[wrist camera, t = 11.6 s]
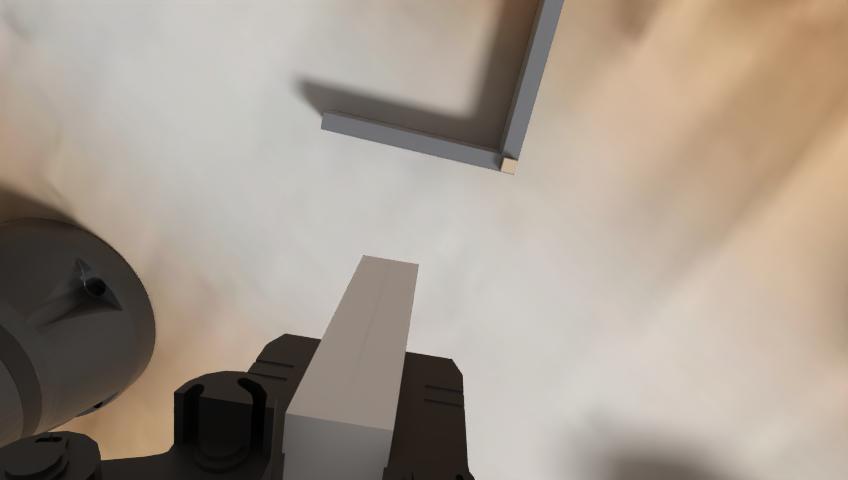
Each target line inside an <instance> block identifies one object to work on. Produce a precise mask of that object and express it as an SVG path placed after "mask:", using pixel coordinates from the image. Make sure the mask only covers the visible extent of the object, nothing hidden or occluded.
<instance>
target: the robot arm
mask: <svg viewBox="0 0 848 480" xmlns="http://www.w3.org/2000/svg"><path fill="white" fill-rule="evenodd" d="M418 266H419V264H413V263H407V262H401V261H395V260H389V259H383V258H377V257H371V256H365V255H363V257H362V259H361V261H360V263H359V265H358V267H357V269H356V271H355V273H354V275H353V277H352V279H351V281H350V283H349V285H348V287H347V289H346V291H345V293H344V295H343V297H342V299H341V302H340V304H339V306H338V308H337V310H336V312H335V314H334V316H333V318H332V320H331V322H330V324H329V326H328V328H327V330H326V332H325V334H324V336H323V338H322V340H321V339H315V338H309V337H303V336H297V335H291V334H284V335H282V336H280V337H278V338H277V339H275V340H273V341H272V342H270V343H268V344H267V345H266V346H265V347H264V349H263V350H262V352H261V353H260V355H259V356H258V357H257V359H256V362H254V363H253V365H252V366H251V367H250V369H249V370H248V372H239V371H222V372H216V373H210V374H205V375H202V376H200V377H197V378H195V379H193V380H190V381H188V382H186V383H185V384H184V385H183V386H181V387H180V388H179V389H177V390H176V391H175V392H174V444H173V446H172V447H171V448H170V450H169V451H168V452H165V453H162V454H158V455H152V456H146V457H136V458H124V459H113V460H101V455H100V451H99V448H98V444H97V443H96V442H95V441H94V440H92V439H91V438H90V437H88V436H87V435H85V434H80V433H75V432H70V431H60V432H48V431H50V430H52V429H55V428H57V427H59V426H61V425H63V424H65V423H67V422H68V421H70V420H72V419H73V418H75V417H79V416H83V415H86V414H89V413H91V412H94V411H96V410H98V409H100V408H102V407H104V406H106V405H107V404H109V403H110V402H112V401H113V400H115V399H116V398H117V397H118V396H120V395H121V394H122V393H123V392H124V391H125V390H126V389H127V388H128V387H129V386H130V385H132V384H133V383H134V382H135V381H136V380H137V379H138V378H139V377H140V375H141V374H142V373H143V372H144V370H145V369H146V367H147V365H148V363H149V361H150V359H151V356H152V353H153V350H154V345H155V332H156V330H155V320H154V314H153V310H152V307H151V303H150V301H149V298H148V296H147V294H146V291H145V289H144V288H143V286H142V284H141V282H140V281H139V279H138V278H137V276H136V275H135V273H134V272H133V271H132V269H131V268H130V267H129V266H128V264H127V263H126V262H125V261H124V260H123V259H122V258H121V257H120V256H119V255H118V254H117V253H116V252H115V251H113V250H112V249H111V248H110V247H109V246H107V245H106V244H104V243H103V242H102V241H100V240H99V239H97V238H96V237H94V236H92V235H90V234H89V233H87V232H85V231H83V230H81V229H78V228H76V227H73V226H71V225H68V224H65V223H61V222H57V221H53V220H47V219H36V218H27V219H17V220H12V221H8V222H4V223H1V224H0V480H475V479H474V477H473V476H472V474H471V473H470V472H469V468H468V459H467V442H466V425H465V409H464V395H463V375H462V373H461V372H460V370H459V369H458V367H457V366H456V364H455V363H454V362H453V360H452V359H448V358H442V357H436V356H430V355H424V354H417V353H411V352H405V351H406V345H407V338H408V332H409V325H410V319H411V312H412V305H413V299H414V292H415V286H416V279H417V273H418Z"/></svg>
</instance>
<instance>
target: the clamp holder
mask: <svg viewBox="0 0 848 480" xmlns="http://www.w3.org/2000/svg"><path fill="white" fill-rule="evenodd" d="M563 2H564V0H539V3H538V7H537V10H536V14H535V17H534V21H533V25H532V28H531V32H530V36H529V39H528V43H527V47H526V50H525V54H524V58H523V61H522V65H521V69H520V72H519V76H518V80H517V83H516V87H515V91H514V94H513V98H512V101H511V105H510V109H509V112H508V116H507V120H506V123H505V127H504V131H503V134H502V138H501V142H500V145H499V149H498V150H497V149H493V148H489V147H484V146H480V145H476V144H472V143H468V142H463V141H459V140H455V139H451V138H447V137H442V136H438V135H434V134H430V133H426V132H421V131H417V130H413V129H409V128H405V127H400V126H396V125H392V124H388V123H384V122H379V121H375V120H371V119H367V118H363V117H359V116H354V115H350V114H346V113H342V112H338V111H327V112H323V118H322V125H321V129H323V130H328V131H332V132H336V133H340V134H344V135H349V136H353V137H357V138H361V139H366V140H370V141H374V142H378V143H382V144H387V145H391V146H395V147H399V148H403V149H408V150H412V151H416V152H420V153H425V154H429V155H433V156H437V157H441V158H446V159H450V160H454V161H458V162H462V163H467V164H471V165H475V166H479V167H483V168H488V169H492V170H496V171H500V172H505V173H509V174H513V175H514V172H515V169H516V165H517V162H518V158H519V155H520V151H521V148H522V144H523V141H524V138H525V134H526V131H527V127H528V124H529V120H530V117H531V113H532V110H533V106H534V103H535V99H536V96H537V92H538V89H539V85H540V82H541V79H542V75H543V72H544V68H545V65H546V61H547V58H548V54H549V51H550V47H551V44H552V40H553V37H554V33H555V30H556V27H557V23H558V20H559V16H560V13H561V9H562V6H563Z"/></svg>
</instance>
